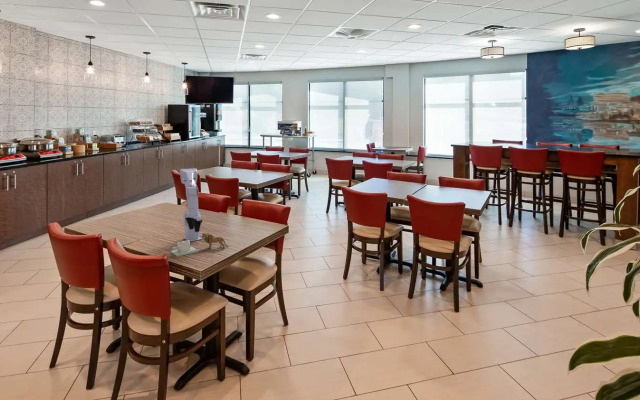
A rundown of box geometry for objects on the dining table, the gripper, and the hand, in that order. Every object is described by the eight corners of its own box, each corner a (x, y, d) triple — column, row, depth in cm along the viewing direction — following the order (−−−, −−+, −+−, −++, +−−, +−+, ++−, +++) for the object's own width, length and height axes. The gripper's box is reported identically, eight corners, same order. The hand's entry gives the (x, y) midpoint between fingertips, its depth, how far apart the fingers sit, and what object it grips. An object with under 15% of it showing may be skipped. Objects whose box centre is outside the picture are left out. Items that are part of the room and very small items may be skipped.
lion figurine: (201, 249, 226) (200, 234, 224) (203, 246, 231) (202, 231, 230) (227, 248, 227) (226, 233, 225) (229, 246, 232) (228, 231, 231)
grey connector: (172, 252, 218) (171, 243, 217) (188, 248, 224) (188, 240, 223) (174, 253, 216) (173, 244, 215) (191, 250, 222) (190, 241, 221)
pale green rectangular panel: (170, 252, 220) (170, 250, 220) (191, 248, 228) (191, 246, 228) (177, 256, 214) (177, 254, 214) (198, 251, 221) (198, 250, 221)
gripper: (181, 206, 230) (182, 229, 233) (191, 210, 219) (192, 234, 222) (192, 204, 234) (194, 227, 237) (203, 208, 224) (204, 232, 226)
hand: (194, 230), depth 230 cm, fingers open, 7 cm apart
